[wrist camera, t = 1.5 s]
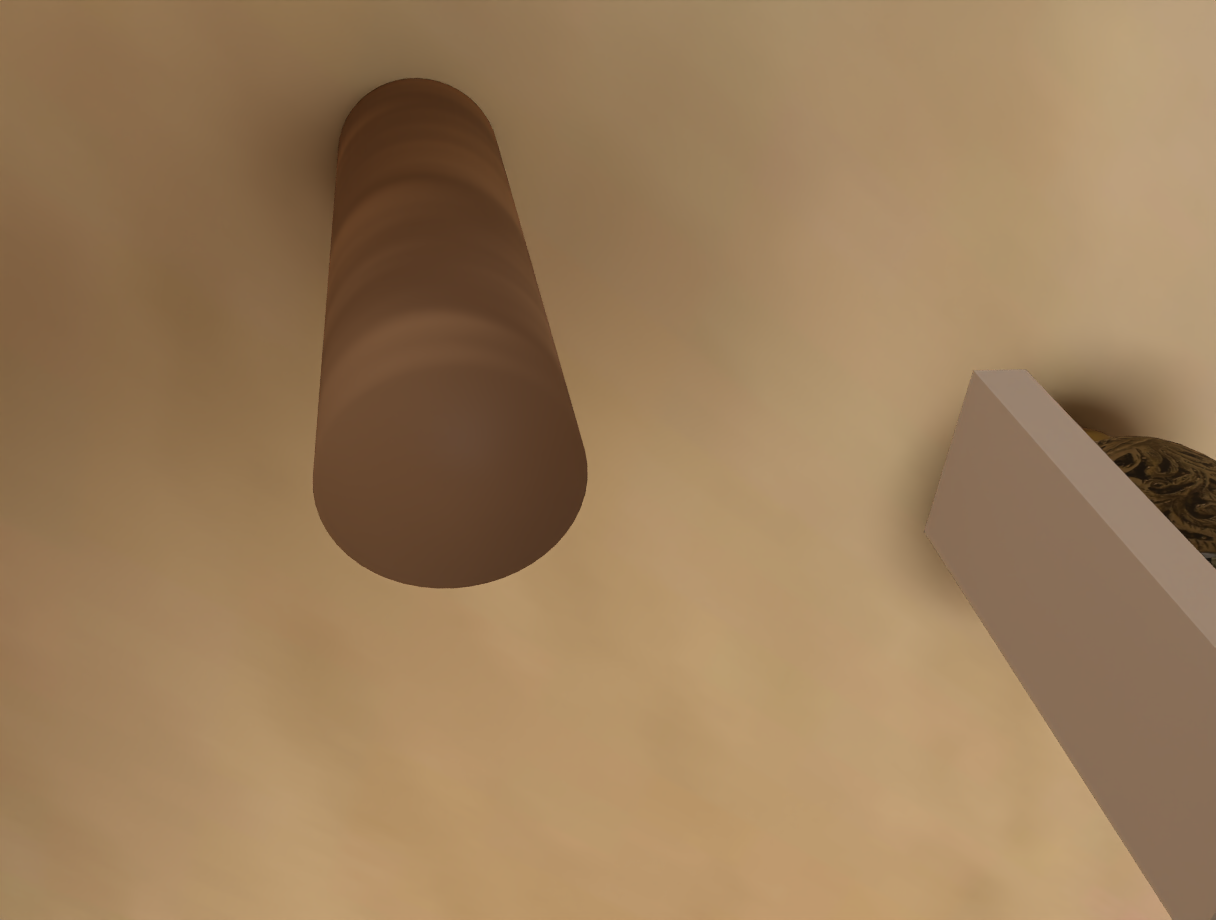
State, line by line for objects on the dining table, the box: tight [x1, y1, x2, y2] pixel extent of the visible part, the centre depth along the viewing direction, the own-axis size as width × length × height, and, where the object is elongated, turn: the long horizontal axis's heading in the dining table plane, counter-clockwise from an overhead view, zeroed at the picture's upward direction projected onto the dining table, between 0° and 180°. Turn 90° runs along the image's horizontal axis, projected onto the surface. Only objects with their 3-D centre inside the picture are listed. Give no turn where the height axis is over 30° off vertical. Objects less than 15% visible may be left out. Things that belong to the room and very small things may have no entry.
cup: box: [1081, 427, 1216, 568], centre depth 28 cm, size 8×7×8 cm
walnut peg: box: [313, 78, 587, 588], centre depth 18 cm, size 3×3×12 cm
